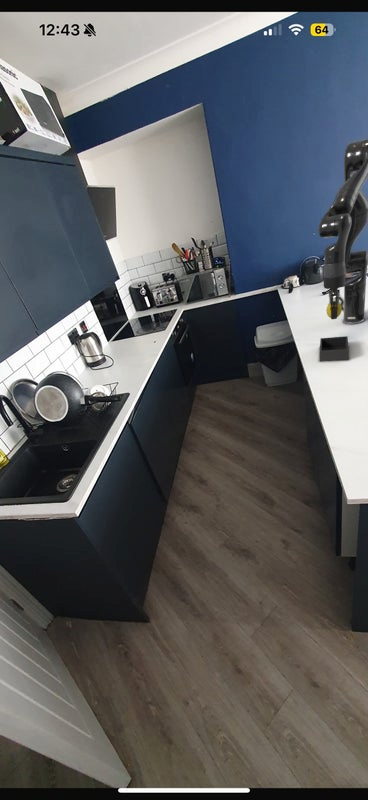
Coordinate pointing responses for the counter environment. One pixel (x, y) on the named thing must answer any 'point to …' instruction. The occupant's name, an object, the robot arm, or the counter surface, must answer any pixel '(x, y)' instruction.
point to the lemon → (337, 310)
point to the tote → (334, 349)
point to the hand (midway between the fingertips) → (334, 315)
